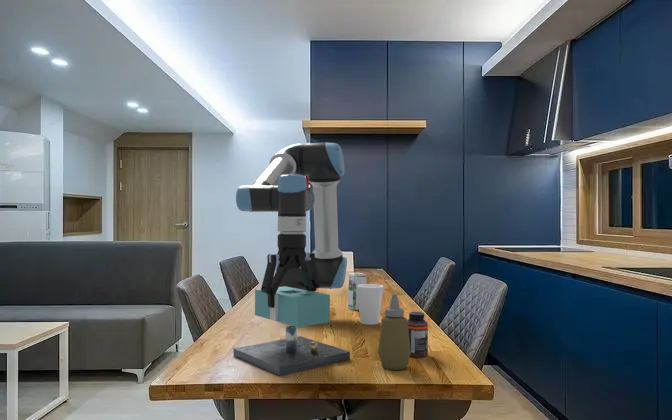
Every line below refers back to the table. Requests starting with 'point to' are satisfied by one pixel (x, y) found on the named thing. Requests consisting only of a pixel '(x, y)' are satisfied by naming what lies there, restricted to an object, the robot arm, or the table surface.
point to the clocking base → (290, 354)
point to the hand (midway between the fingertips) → (291, 317)
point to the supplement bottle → (418, 334)
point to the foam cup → (369, 302)
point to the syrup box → (354, 289)
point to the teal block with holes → (295, 306)
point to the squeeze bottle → (394, 337)
